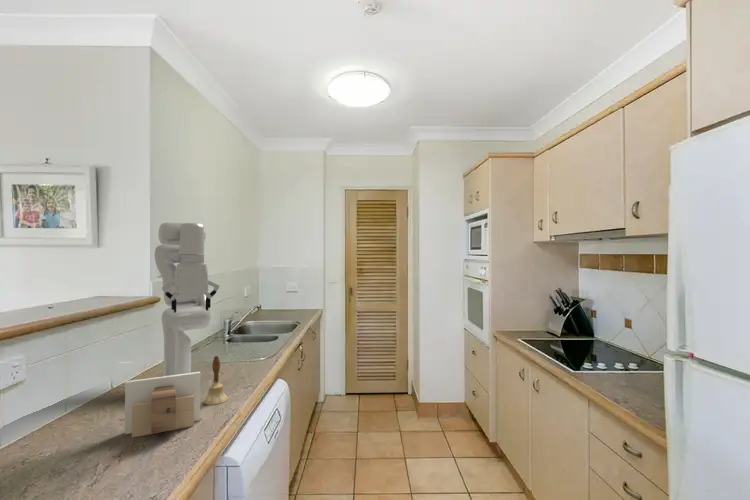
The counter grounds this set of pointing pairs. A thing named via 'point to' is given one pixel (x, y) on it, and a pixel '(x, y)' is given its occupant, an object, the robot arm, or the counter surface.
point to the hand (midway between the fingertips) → (191, 311)
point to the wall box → (163, 409)
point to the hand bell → (215, 387)
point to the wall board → (141, 401)
